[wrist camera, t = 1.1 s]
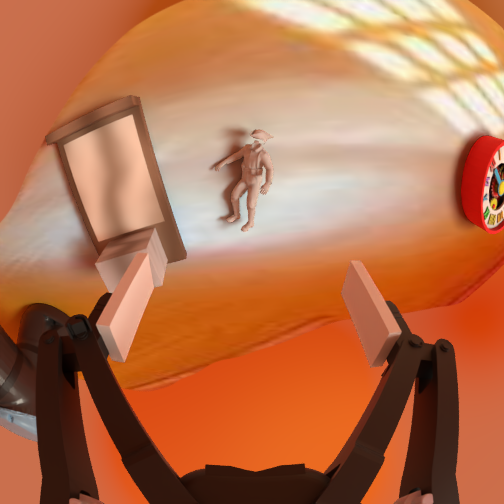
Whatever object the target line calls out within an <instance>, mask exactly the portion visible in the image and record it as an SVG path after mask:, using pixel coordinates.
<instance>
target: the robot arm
mask: <svg viewBox="0 0 504 504" xmlns="http://www.w3.org/2000/svg"><path fill="white" fill-rule="evenodd" d="M153 289H154V285H153V279H152V273H151V268H150V262H149V255H148V253H137V254H136V256H135V257H134V259H133V260H132V262H131V264H130V265H129V267H128V269H127V270H126V272H125V273H124V275H123V277H122V278H121V280H120V282H119V284H118V285H117V287H116V289H115V290H114V292H113V293H105V294H104V295H103V296H102V297H100V299H99V300H98V302H97V304H96V305H95V307H94V310H93V311H92V312H91V314H90V316H89V318H87V317H86V316H84V315H81V314H78V315H74V316H72V317H69V316H67V315H66V314H65V313H63V312H62V311H60V310H58V309H57V308H54V307H52V306H49V305H46V304H33V305H31V306H29V307H28V308H27V310H26V311H25V313H24V314H23V316H22V318H21V322H20V328H19V333H18V339H17V344H15V343H14V342H13V341H12V340H11V338H10V337H9V336H8V334H7V333H6V332H5V331H4V329H3V328H2V327H1V325H0V425H1V426H3V427H4V428H6V429H8V430H9V431H11V432H13V433H15V434H17V435H20V436H22V437H24V438H27V439H29V440H32V441H36V442H38V451H39V458H40V465H41V472H42V477H43V478H42V486H41V496H40V504H104V503H103V502H101V501H99V495H98V489H97V485H96V481H95V477H94V473H93V470H92V466H91V461H90V458H89V453H88V448H87V444H86V438H85V433H84V427H83V420H82V414H81V406H80V397H79V387H78V374H77V372H79V371H82V373H83V376H84V379H85V381H86V384H87V386H88V389H89V391H90V394H91V396H92V399H93V401H94V403H95V405H96V408H97V410H98V412H99V414H100V416H101V419H102V421H103V423H104V425H105V426H106V429H107V430H108V433H109V435H110V437H111V438H112V440H113V442H114V444H115V446H116V448H117V449H118V451H119V453H120V455H121V457H122V462H123V464H124V466H125V468H126V469H127V471H128V473H129V474H130V476H131V477H132V479H133V480H134V482H135V483H136V485H137V486H138V488H139V489H140V491H141V492H142V494H143V495H144V497H145V498H146V499H147V501H148V502H149V503H150V504H361V503H360V502H361V500H362V499H363V497H364V496H365V494H366V492H367V491H368V489H369V487H370V486H371V484H372V482H373V481H374V479H375V477H376V475H377V473H378V472H379V470H380V468H381V466H382V464H383V462H384V459H385V457H384V453H385V450H386V448H387V446H388V444H389V442H390V440H391V438H392V436H393V434H394V432H395V429H396V427H397V425H398V422H399V420H400V418H401V415H402V413H403V410H404V408H405V405H406V403H407V400H408V397H409V395H410V392H411V389H412V386H413V383H414V380H415V395H414V406H413V416H412V425H411V433H410V439H409V445H408V452H407V457H406V462H405V467H404V471H403V476H402V480H401V486H400V494H399V499H398V500H397V501H396V502H395V503H394V504H460V502H459V494H458V487H457V481H456V475H455V473H456V464H457V453H458V436H459V401H458V383H457V370H456V361H455V353H454V348H453V345H452V344H451V343H450V342H449V341H448V340H445V339H439V340H437V342H436V343H435V345H432V344H427V343H424V341H423V340H422V339H421V338H420V337H419V336H417V335H415V334H412V333H411V332H410V330H409V328H408V326H407V324H406V322H405V321H404V319H403V318H402V315H401V314H400V313H399V310H398V309H397V307H396V306H395V305H394V304H393V303H392V302H391V301H385V300H384V299H383V297H382V295H381V294H380V292H379V290H378V288H377V287H376V285H375V283H374V282H373V280H372V278H371V277H370V275H369V273H368V272H367V270H366V269H365V267H364V265H363V264H362V262H361V261H352V260H350V264H349V268H348V271H347V275H346V278H345V282H344V285H343V289H342V292H341V294H342V297H343V299H344V301H345V304H346V306H347V309H348V311H349V313H350V316H351V318H352V321H353V323H354V325H355V328H356V331H357V333H358V336H359V338H360V341H361V343H362V346H363V349H364V351H365V354H366V357H367V359H368V362H369V365H370V367H378V366H382V365H383V363H384V362H385V360H386V359H387V362H388V364H389V365H388V366H387V368H386V369H385V371H384V372H383V374H382V375H381V376H382V378H381V380H380V383H379V385H378V387H377V389H376V391H375V393H374V395H373V397H372V399H371V401H370V402H369V404H368V406H367V408H366V410H365V412H364V413H363V415H362V417H361V419H360V421H359V422H358V424H357V426H356V427H355V429H354V431H353V433H352V434H351V436H350V437H349V439H348V441H347V442H346V444H345V445H344V447H343V448H342V450H341V451H340V453H339V454H338V456H337V457H336V459H335V460H334V462H333V463H332V464H331V465H330V466H329V467H328V469H327V470H326V471H325V472H324V474H323V473H321V472H319V471H316V470H313V469H309V468H305V464H295V465H281V466H277V467H274V468H270V469H266V470H262V471H258V472H254V471H249V470H244V469H240V468H236V467H232V466H220V465H206V466H205V469H200V470H195V471H193V472H190V473H188V474H186V475H184V476H183V477H181V478H180V477H179V476H178V475H177V473H176V472H175V471H174V470H173V469H172V467H171V466H170V465H169V463H168V462H167V461H166V460H165V458H164V457H163V455H162V454H161V453H160V451H159V450H158V448H157V447H156V445H155V444H154V442H153V441H152V440H151V438H150V436H149V435H148V433H147V432H146V430H145V429H144V427H143V426H142V424H141V423H140V421H139V420H138V417H137V416H136V414H135V413H134V411H133V409H132V407H131V406H130V404H129V402H128V400H127V399H126V397H125V395H124V393H123V391H122V389H121V387H120V385H119V384H118V382H117V380H116V378H115V376H114V374H113V372H112V370H111V368H110V365H109V363H108V361H107V357H108V355H110V357H111V359H112V360H113V361H119V362H124V363H125V360H126V357H127V354H128V352H129V349H130V346H131V343H132V341H133V338H134V336H135V333H136V330H137V328H138V325H139V323H140V320H141V318H142V315H143V313H144V310H145V308H146V305H147V303H148V300H149V298H150V296H151V293H152V291H153Z"/></svg>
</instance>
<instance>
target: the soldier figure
mask: <svg viewBox="0 0 504 504" xmlns="http://www.w3.org/2000/svg"><path fill="white" fill-rule="evenodd" d="M250 135H251V136H252V137H253V138H256V139H262V140H264V143H266V141H267V139H269V138H274V137H273V136H271V135H270V134H268V133H266V132H265V131H263V130H256V129H255V130H254V131H252V132H251V134H250ZM262 144H263V143H262ZM262 144H260V143H259V142H258V141H255V142H254V143H253V144H252V145H251V144H246V145H245V146H244V147H243V148H242V149H241V150H240V151H238V152H237V153H234V154H233V155H231V156H230V157H228V158H226V159H225V160H224V161H222V162H221V163H219V164H218V165H217V166H216V167H215V170H216V171H217V170H218V171H219V170H220V168H221V167H222V166H224V165H225V164H229V163H231V162H233V161H236V160H238V159H240V158H242V157H244V161H243V162H242V166H241V169H242V178H241V180H240V181H239V182H238V184H237V185H236V186H235V188H234V189H233V191H232V192H231V200H230V201H231V202H232V205H233V210H234V214H233V215H232V216H230V217H228V218H227V220H226V221H227V222H233V221H234V220H235V219H240V213H239V212H240V209H239V197H241V196H242V194H244V193H245V192H246V190H247V189H248V195H247V210H248V220H249V221H248V222H247V223H246V224H245V225H244V226H243V227H242V228H241V230H242V231H244V232H246V231H248V229H249V228H250V227H253V226H254V221H253V220H254V215H255V206H256V203H257V198H258V194H259V190H260V189H262V190H261V191H260V193H261V192H262V191H263V192H264V191H265V192H264V193H263V192H262V193H261V194H263V195H264V194H265V195H266V193H267V192H268V190H269V187H270V185H271V184H272V178H273V171H274V169H273V166H272V163H271V159H270V155H269V154H268V152H266V151H265V150H264V148H262ZM264 145H265V144H264ZM263 165H264V167H265V169H266V183H265V184H264V185H263V186H262V187H261V188H260V184H261V182H262V171H263V168H262V166H263ZM218 168H219V169H218ZM263 189H264V190H263Z"/></svg>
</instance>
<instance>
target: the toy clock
mask: <svg viewBox="0 0 504 504" xmlns="http://www.w3.org/2000/svg"><path fill="white" fill-rule="evenodd" d="M461 199H462V206H463V210H464V213H465V215H466V217H467V218H468V220H470V221H471V222H472V223H474V224H475V225H477V226H479V227H480V228H482V229H484V230H485V231H487V232H488V233H490V234H496V233H498V232H500V231H501V230H502V229H503V228H504V140H502V139H498V138H495V137H492V136H482V137H481V138H479V139H478V140H477V141H476V142H475V143H474V145H473V146H472V148H471V150H470V152H469V154H468V157H467V160H466V162H465V166H464V170H463V176H462V185H461Z"/></svg>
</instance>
